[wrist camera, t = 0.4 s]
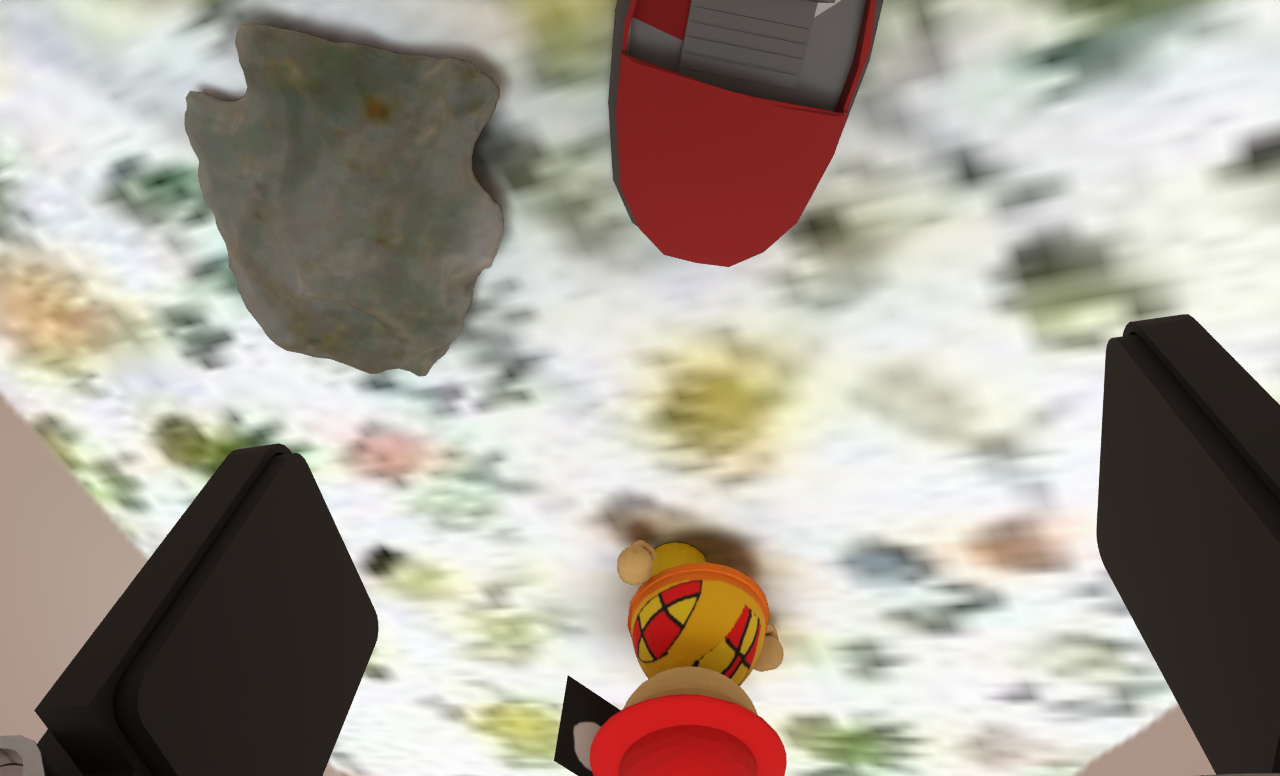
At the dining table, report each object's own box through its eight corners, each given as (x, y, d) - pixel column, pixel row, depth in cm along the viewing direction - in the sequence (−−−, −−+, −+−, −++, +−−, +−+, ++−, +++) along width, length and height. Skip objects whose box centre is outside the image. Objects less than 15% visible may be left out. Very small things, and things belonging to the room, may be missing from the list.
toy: (558, 571, 52) (510, 817, 39) (671, 477, 48) (658, 714, 35) (705, 675, 55) (705, 932, 42) (821, 594, 52) (859, 850, 39)
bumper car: (585, 219, 42) (553, 322, 33) (671, -342, 31) (658, -406, 23) (803, 260, 42) (828, 373, 33) (959, -281, 32) (1054, -320, 23)
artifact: (203, -15, 38) (214, 311, 46) (150, -1, 34) (171, 349, 42) (534, 63, 38) (489, 375, 46) (513, 86, 35) (468, 418, 42)
